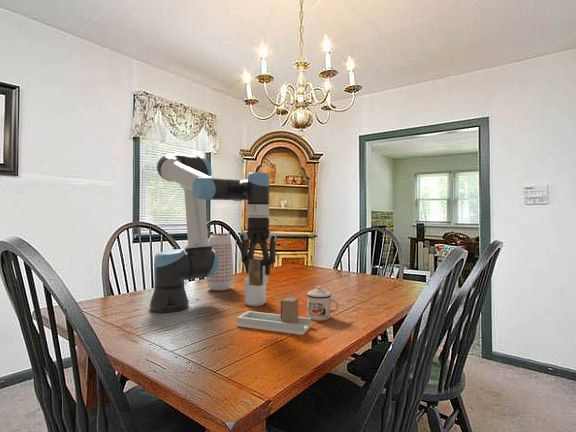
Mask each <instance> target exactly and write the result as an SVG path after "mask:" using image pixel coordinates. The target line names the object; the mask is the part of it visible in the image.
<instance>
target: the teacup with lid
mask: <svg viewBox="0 0 576 432" xmlns="http://www.w3.org/2000/svg"><path fill="white" fill-rule="evenodd" d="M306 296H307V303H306V304H307V307H306V308H307V309H306V310H307V313H306V314H307V317H306V318H311V321H318V322H319V321H320V322H321V321H328V320H329V319H330V318H331V313H335V312H337V310H338V309H339V305H340V304H339V302H338V300H337V299H335V298H331V297H332V294H331V292H330V291H327V290H325V289H324V288H323V287H322V286H321V285H317V286H316V288H314V289H312V290H310V291H308V292H307V294H306ZM332 302H334V303H335V304H336V305H335V306H336V307H335V309H331V303H332Z"/></svg>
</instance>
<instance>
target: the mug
mask: <svg viewBox="0 0 576 432" xmlns="http://www.w3.org/2000/svg"><path fill="white" fill-rule="evenodd" d="M266 288H267V284H266V285H261V286H252V285H249V276H247V277H245V278H244V303H245V304H246V305H247V306H249V307H261V306H263V305H264V304H265V303H266V294H267V292H266V290H267V289H266Z"/></svg>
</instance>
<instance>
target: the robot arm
mask: <svg viewBox="0 0 576 432" xmlns="http://www.w3.org/2000/svg"><path fill="white" fill-rule="evenodd" d="M156 171H157V173H158V175H159V177H161V179H163V180H165V181H167V182H171V183H172V182H175V183H176V184H178V185H180V186H179V187H180V188H182V189H183V190H184V204H185V208H184V209H185V218H186V219H185V220H186V232H187V233H186V234H187V245H186V246H185V247H184V249H181V248H179V249H178V248H175V249H169V250H168V249H167V250H163V251H159V252H158V253H156V254H155V255H154V260H153V261H154V262H153V267H154V268H153V272H154V273H153V275H154V279H153V281H154V283H153V285H154V289H153V293H152V297H151V300H150V303H149V311H151V312H154V313H174V312H179V311H184V310H186V309H187V308H189V303H190V301H189V299H188V296H187V293H186V292H187V291H186V290H185V281H187V280H195V279H204V278H206V277H209V276H212V275H213V274H214V273H215V272H216V270H217V268H218V263H219V258H218V255H217V252H216V251H214V250H212V245H211V244H209V243H208V241H209V237H208V223H207V209H206V201H208V200H209V201H210V200H212V201H215V200H216V201H234V202H241V201H247V216H248V218H247V231H246V233H244V234H240V235H239V239H240V242H241V249H240V250H241V252H240V253H241V263H244V264H246V274H248V275H249V259H252V258H254V256H255V251H256V246H257V245H259V247H261V254H262V258H263V259H264V263H265V265H264V266H263V285H266V286H267V284H268V283H269V281H268V280H269V277H268V276H269V275H271V265H272V264H275V263H276V255H277V254H276V251H277V250H276V246H277V245H276V243H277V242H276V241H277V240H278V236H277V234H275V235H274V234H272V233H271V232H270V218H269V217H268V216H270V185H271V184H270V175H269V174H268V173H267V172H262V171H260V172H258V171H254V172H249V173H248V174H247V178H246V179H232V178H231V179H229V178H216V177H212V174H213V171H212V165H211V163H210V161H209V160H207V158H205V157H203V156H199V155H190V154H189V155H188V154H180V153H168V154H165V155H163V156H161V157H160V159H158V161H157V164H156ZM268 239H269V249H268V241H267V240H268ZM248 240H249V243H248ZM248 245H249V246H248Z"/></svg>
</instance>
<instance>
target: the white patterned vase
mask: <svg viewBox="0 0 576 432" xmlns="http://www.w3.org/2000/svg"><path fill="white" fill-rule="evenodd" d="M208 243H209V244H211V245H212V250H214V251H216V252H217V255H218V258H219V263H218V268H217V270H216V272H215V273H214V274H213V275H212V276H209V277H205V278H206V285H207V287H208V288H209V289H210V290H211V292H226V291H228V290H230V288H231V287H232V285H233V283H234V257H233V255H234V254H233V244H232V237H231V236H230V235H229V233H227V232H226V233H225V232H223V233H221V232H219V233H212V234H210V236H209V237H208Z"/></svg>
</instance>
